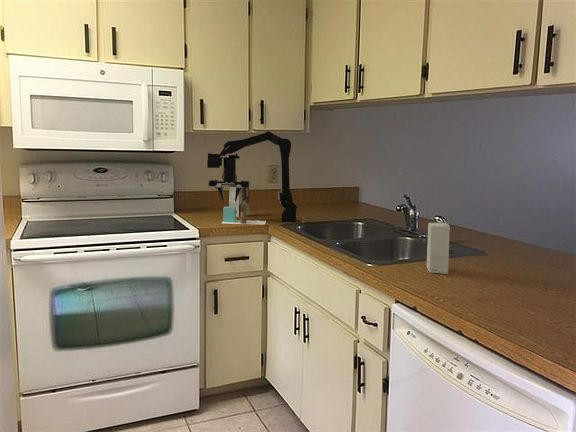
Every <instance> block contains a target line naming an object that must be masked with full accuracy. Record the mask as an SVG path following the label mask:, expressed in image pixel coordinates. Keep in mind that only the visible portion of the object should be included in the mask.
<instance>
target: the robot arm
mask: <svg viewBox="0 0 576 432" xmlns="http://www.w3.org/2000/svg"><path fill="white" fill-rule="evenodd" d="M266 141H268V142H270V143H272V144H273V145H275V146H277V151H278V154H279V158H280V185H281V186H280V190H279V191H277V201H278V202H279V204H280V205H281V206H282V208H283V209H282V212H281V222H283V223H297V209H298V206H297V205H296V204H295V203H294V200H293V195H292V191H291V188H290V186H291V185H290V184H291V183H290V155H291V149H292V142H291V140H289V139H288V138H282V137H280V136H279V135H277V134H275V133H273V132H271V131H268V130H267V131H265V132H263V133H260V134H256V135H253V136H248V137H246V138H243V139H234V140H227V141H226V142H224V144H223V148H222V150H221V151H220V153H210V152H209V153H207V165H206V167H207V169H220V167H222V166H223V170H222V171H223V172H222V174H221V175H222V176H221V179H222V181H221V180H219V179H210V180H208V187H215V189H217V192H218V193H219V195H220V198H221V200H222V202H223V203H224V202H225V194H224V186H231V185H235V186H237V188H236V194H235V202H236V201H237V198H238V195H239V192H240V190H241V189H243V188H244V187H249V188H250V187H251V181H250V180H249V179H246V180H244V179H243V180H241V181H238V175H237V160H238V159H239V160H240V158H241V157H240V156H239V155H238V153H237V151H240V150H242V149H243V148H247V147H251V146H252V145H253V146H254V145H255V144H259V143H262V142H266ZM234 153H235V154H234ZM226 155H228V156H226Z"/></svg>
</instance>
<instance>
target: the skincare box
mask: <svg viewBox="0 0 576 432" xmlns="http://www.w3.org/2000/svg"><path fill="white" fill-rule="evenodd" d="M427 227H428V228H427V244H426V245H427V250H426V268H427V270H428V272H429V273H431V274H442V275H443V274H445V275H449V260H450V259H449V258H450V232H451V226H450V225H449V224H448V223H446V222H428V224H427Z"/></svg>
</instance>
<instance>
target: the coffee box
mask: <svg viewBox="0 0 576 432" xmlns="http://www.w3.org/2000/svg"><path fill="white" fill-rule="evenodd" d="M236 188H237V186H235V185H228V189H229V190H228V199H229V200H228V207H236V218H241V212H246V216H250V187H244V188H243V189H241V190H240V192H239V195H238V198H237V201H236V202H235V194H236Z"/></svg>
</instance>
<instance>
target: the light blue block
mask: <svg viewBox="0 0 576 432" xmlns="http://www.w3.org/2000/svg"><path fill="white" fill-rule="evenodd" d="M222 210H223V211H222V218H223V219H222V220H223V221H222V222H235V221H236V220H237V217H236V207H229V206H224V207H223V208H222Z"/></svg>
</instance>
